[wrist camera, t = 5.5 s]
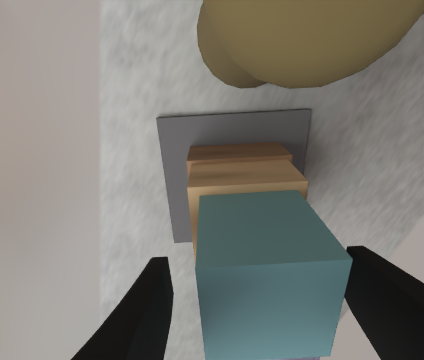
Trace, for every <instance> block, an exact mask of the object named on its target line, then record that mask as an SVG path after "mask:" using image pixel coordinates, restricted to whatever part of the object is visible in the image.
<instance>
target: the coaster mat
mask: <svg viewBox="0 0 424 360" xmlns="http://www.w3.org/2000/svg"><path fill="white" fill-rule="evenodd" d="M309 119H310V109H297V110H280V111H263V112H245V113H228V114H211V115H193V116H176V117H159V118H156V120H157V127H158V134H159V141H160V148H161V154H162V161H163V168H164V175H165V182H166V189H167V196H168V202H169V209H170V216H171V223H172V230H173V237H174V243H182V242H193V239H192V230H191V220H190V211H189V201H188V192H187V185H188V172H187V162H186V161H187V157H188V152H189V148H190V147H191V146H208V145H226V144H244V143H262V142H279V143H280V144H281V145H282V146H283V147H284V148H285V149H286V150H288V151H289V152H290V153H291V154H292V165H293V166H294V167H295V168H296V169H297V170H298V171H299V172H300V173H301V174H302V175H303V173H304V164H305V155H306V146H307V137H308V128H309Z"/></svg>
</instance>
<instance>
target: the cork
mask: <svg viewBox="0 0 424 360" xmlns="http://www.w3.org/2000/svg"><path fill="white" fill-rule="evenodd" d="M203 1H204V2H203V4H202V6H201V9H200V14H199V19H198V24H197V36H198V46H199V49H200V52H201V55H202V58H203V61H204V63H205V64H206V65H207V67H208V68H209V69H210V71H211V72H212V74H213V75H214V76H216V77H217V78H218V79H220V80H221V81H223V82H224V83H225V84H228V85H231V86H234V87H238V88H254V87H258V86H260V85H263V84H265V83H271V84H274V85H278V86H281V87H285V88H309V87H322V86H324V85H327V84H330V83H332V82H335V81H337V80H340V79H343V78H345V77H348V76H350V75H353V74H355V73H357V72H359V71H361V70H363V69H365V68H366V67H368V66H369V65H370V64H372V63H373V62H374V61H376V60H377V59H379V58H380V57H381V56H383V55H384V54H385V53H387V52H388V51H389V50H391V49H392V48H393V47H395V46H396V45H397V44H398V43H399V41H400V40H401V39H402V38H403V37H404V35H405V34H406V33H407V32H408V31H409V29H410V28H411V27H412V26H413V25H414V23H415V22H416V21H417V20H418V19H419V17H420V16H421V15H422V14H423V13H424V0H203Z"/></svg>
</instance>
